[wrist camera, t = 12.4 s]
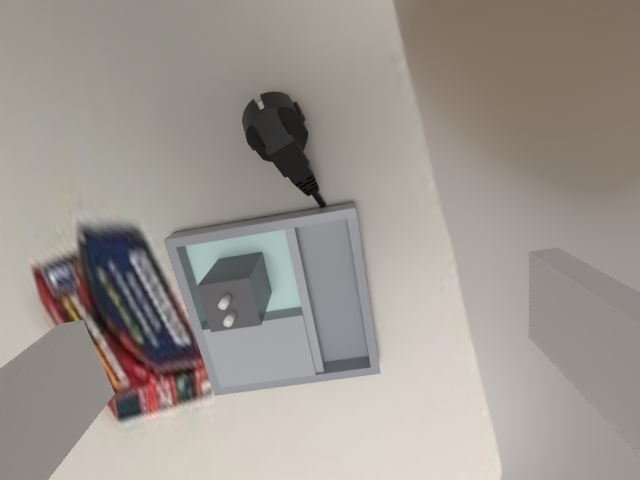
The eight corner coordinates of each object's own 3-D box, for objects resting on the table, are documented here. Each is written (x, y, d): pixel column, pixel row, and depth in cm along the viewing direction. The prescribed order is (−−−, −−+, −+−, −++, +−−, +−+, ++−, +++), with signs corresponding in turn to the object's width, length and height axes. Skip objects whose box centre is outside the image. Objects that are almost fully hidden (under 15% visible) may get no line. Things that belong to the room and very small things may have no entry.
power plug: (302, 222, 39) (236, 144, 29) (287, 177, 43) (226, 97, 34) (348, 197, 38) (296, 108, 29) (328, 154, 42) (277, 66, 33)
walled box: (174, 232, 40) (163, 240, 37) (353, 201, 39) (355, 207, 36) (221, 379, 46) (214, 395, 44) (377, 358, 45) (380, 373, 42)
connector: (218, 258, 40) (190, 294, 32) (262, 251, 40) (245, 285, 32) (229, 298, 42) (205, 341, 34) (272, 292, 41) (258, 334, 33)
